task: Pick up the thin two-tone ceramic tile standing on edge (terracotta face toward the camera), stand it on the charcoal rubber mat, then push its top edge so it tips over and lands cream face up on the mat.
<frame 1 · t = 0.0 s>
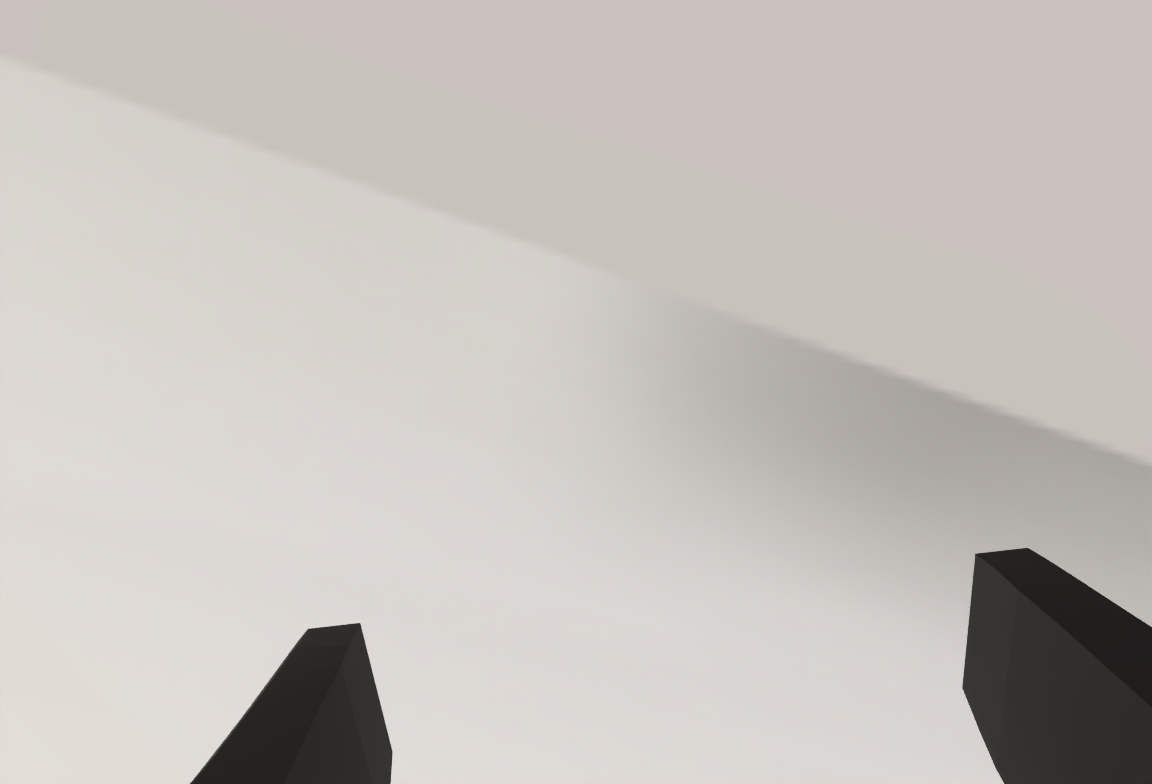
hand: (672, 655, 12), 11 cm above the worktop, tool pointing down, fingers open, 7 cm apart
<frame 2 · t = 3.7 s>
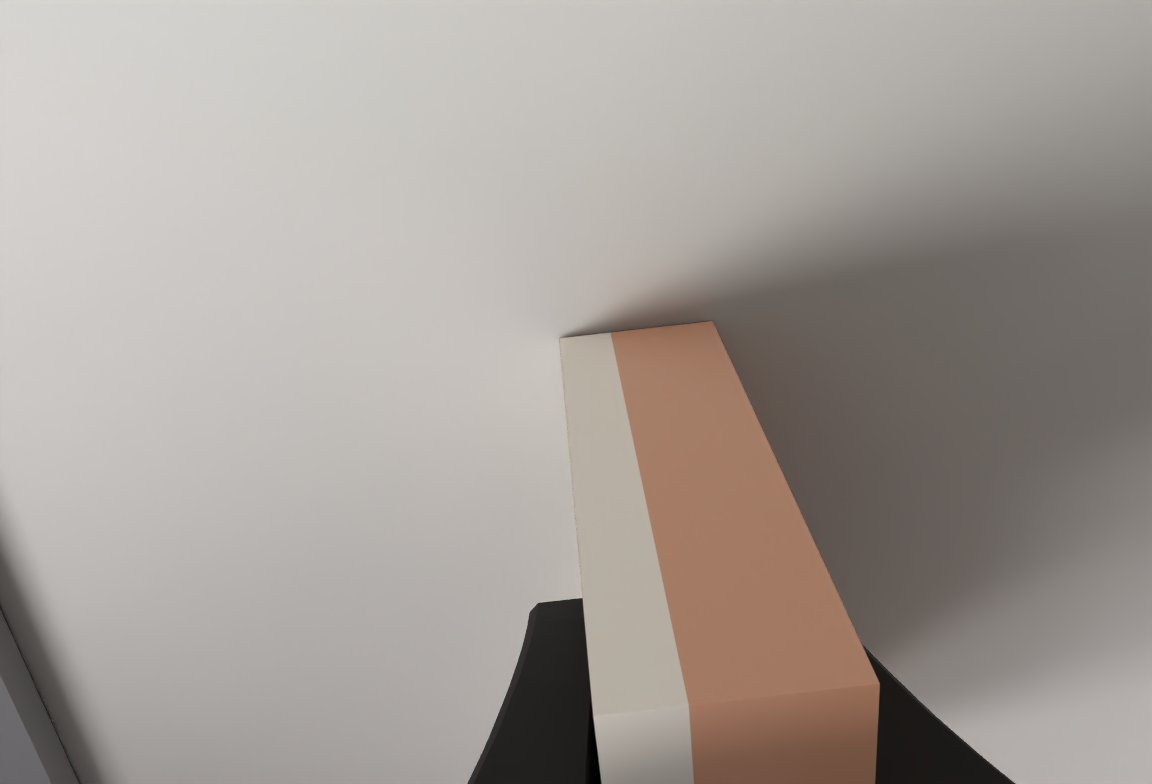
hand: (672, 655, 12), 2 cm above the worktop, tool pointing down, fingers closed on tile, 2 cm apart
tile: (655, 572, 13), on the worktop, touching gripper
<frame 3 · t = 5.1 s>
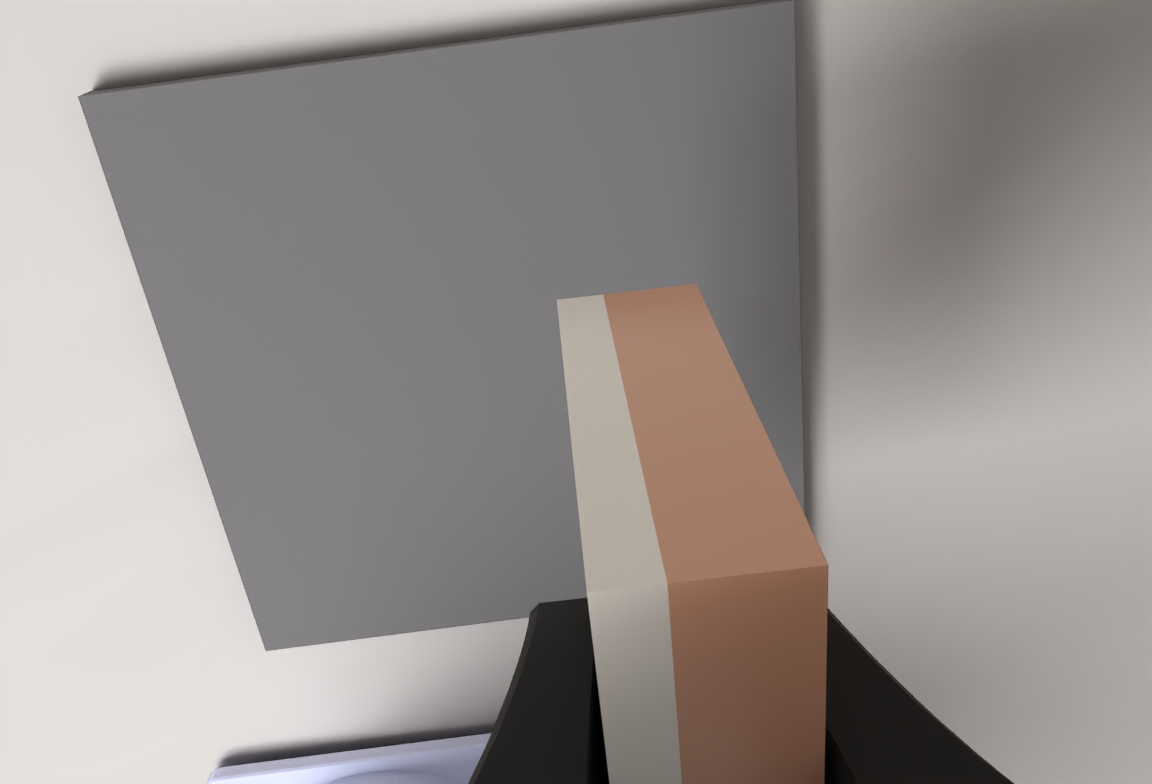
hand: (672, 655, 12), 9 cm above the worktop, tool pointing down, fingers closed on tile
mat: (492, 361, 20), on the worktop
tile: (645, 518, 14), point 6 cm above the worktop, touching gripper
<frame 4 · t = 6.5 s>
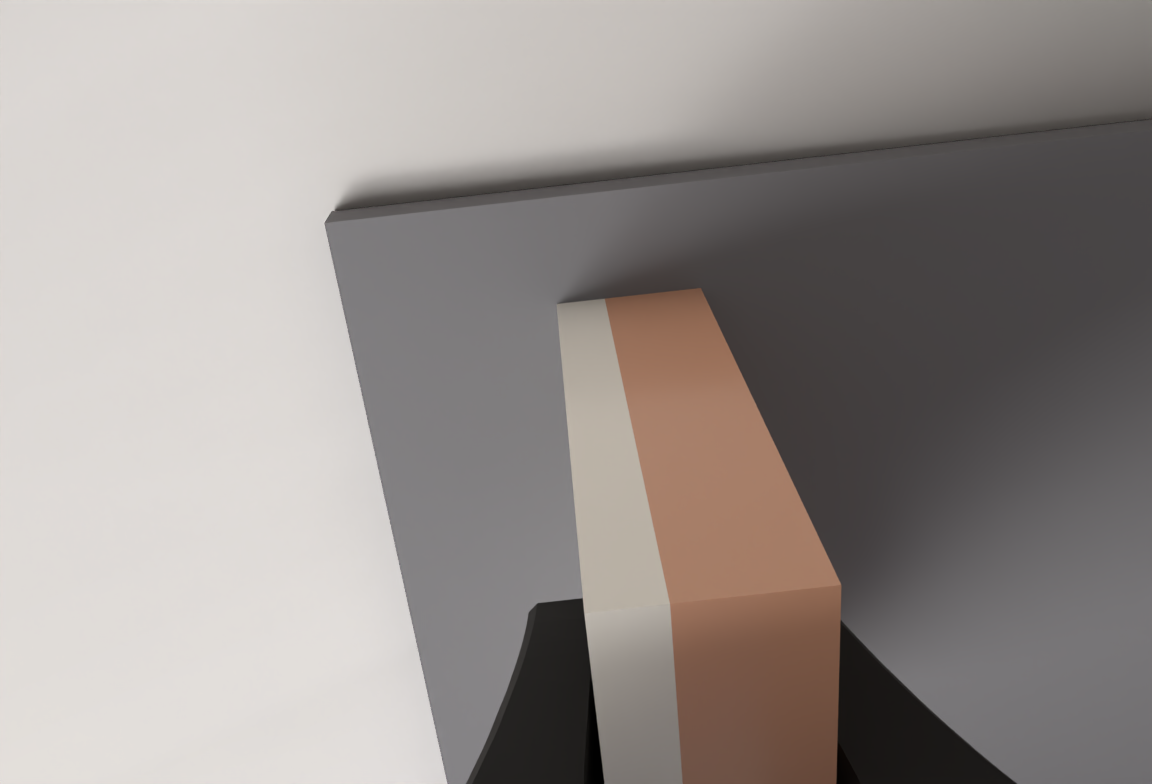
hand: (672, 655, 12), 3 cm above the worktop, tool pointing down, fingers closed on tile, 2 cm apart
mat: (815, 557, 15), on the worktop
tile: (647, 530, 14), resting on mat, touching gripper
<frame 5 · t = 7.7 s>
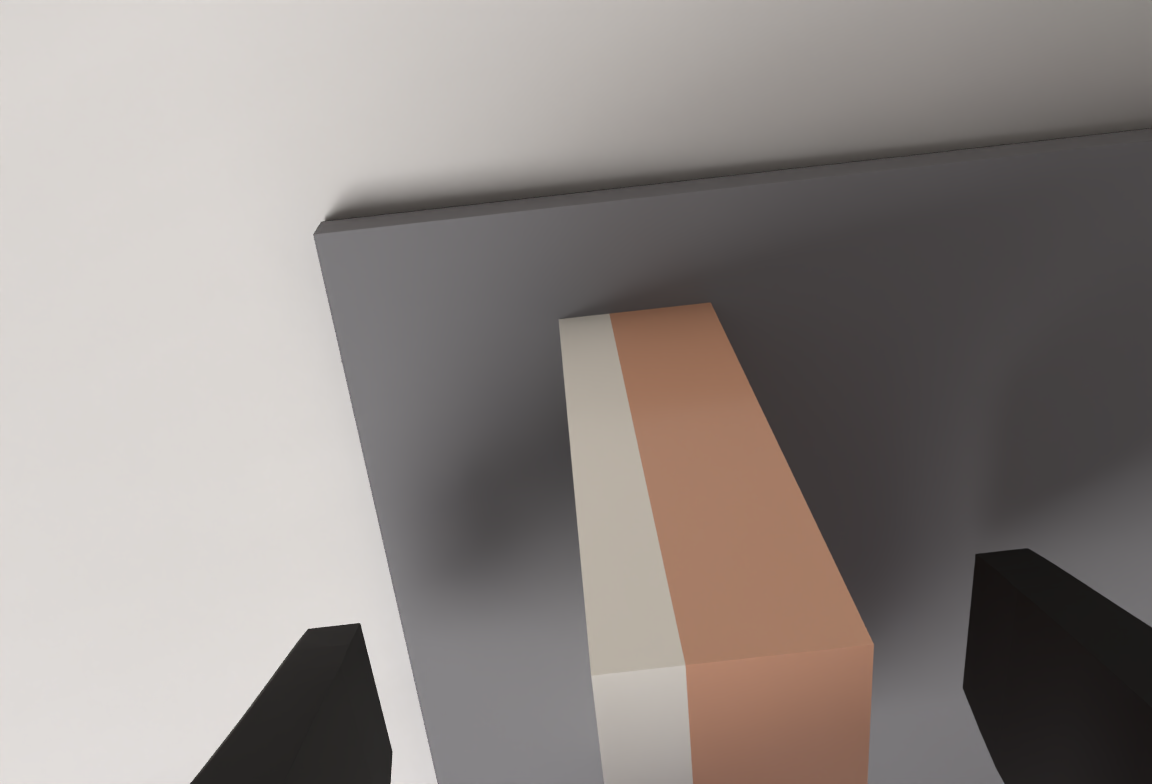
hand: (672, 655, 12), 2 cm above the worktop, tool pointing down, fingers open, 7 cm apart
mat: (827, 580, 14), on the worktop
tile: (653, 554, 13), resting on mat
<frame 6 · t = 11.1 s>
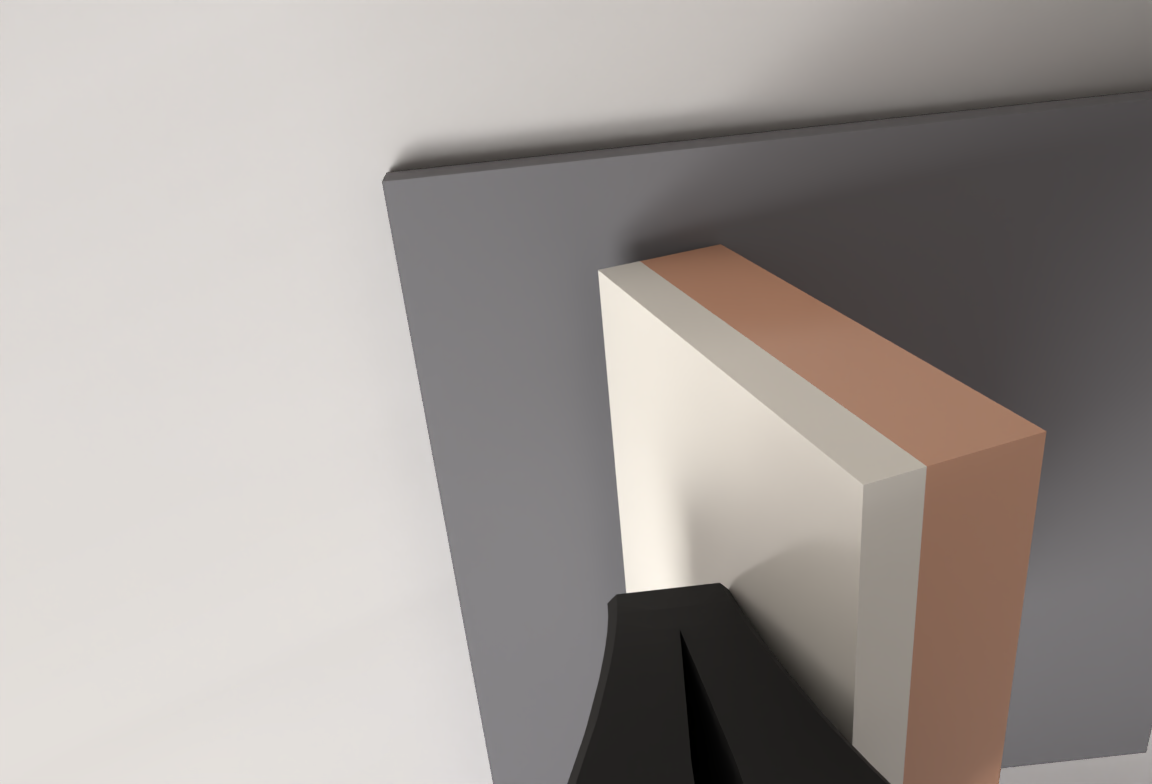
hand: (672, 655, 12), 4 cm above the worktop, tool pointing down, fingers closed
mat: (821, 499, 16), on the worktop
tile: (673, 478, 15), point 1 cm above the worktop, tilted 17°, touching gripper, mat
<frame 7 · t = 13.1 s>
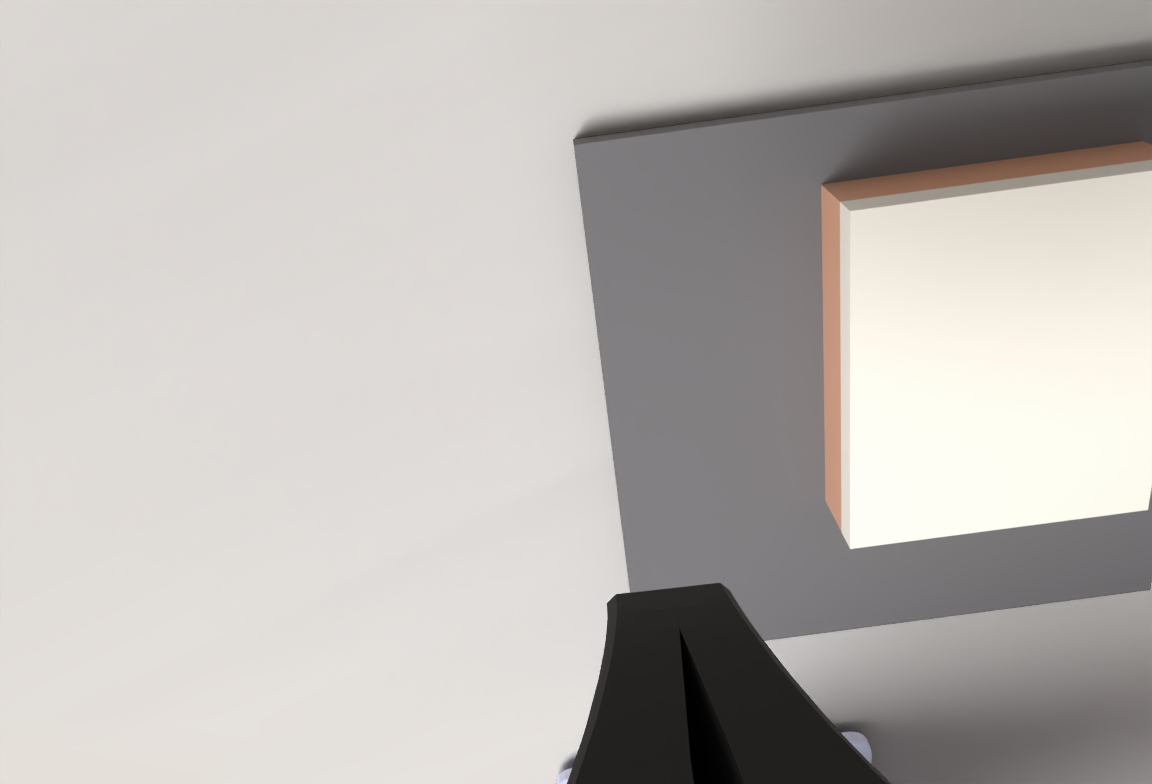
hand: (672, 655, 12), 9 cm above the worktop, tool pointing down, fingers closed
mat: (890, 385, 21), on the worktop
tile: (836, 373, 19), point 1 cm above the worktop, tilted 90°, touching mat
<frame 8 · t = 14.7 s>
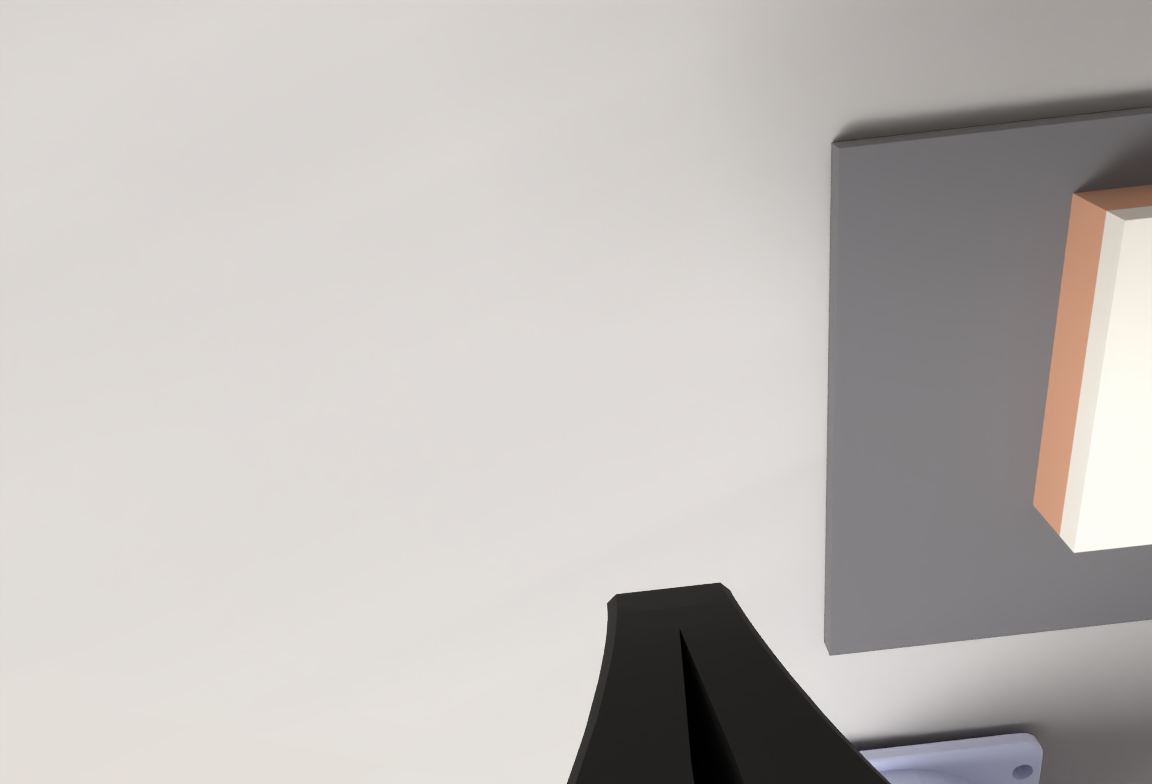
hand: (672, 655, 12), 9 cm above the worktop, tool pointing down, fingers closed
mat: (1105, 392, 21), on the worktop
tile: (1073, 380, 19), point 1 cm above the worktop, tilted 90°, touching mat
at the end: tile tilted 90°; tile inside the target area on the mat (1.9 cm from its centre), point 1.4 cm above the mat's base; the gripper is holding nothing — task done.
